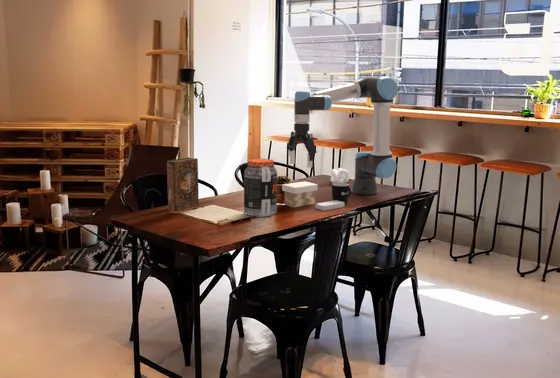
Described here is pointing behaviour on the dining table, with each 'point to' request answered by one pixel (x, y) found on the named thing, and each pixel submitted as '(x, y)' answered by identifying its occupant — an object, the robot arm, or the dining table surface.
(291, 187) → the lid
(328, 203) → the block
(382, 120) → the robot arm
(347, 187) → the mug
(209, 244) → the dining table surface
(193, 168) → the book
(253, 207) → the supplement tub
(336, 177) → the white spiral shell
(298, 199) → the box
